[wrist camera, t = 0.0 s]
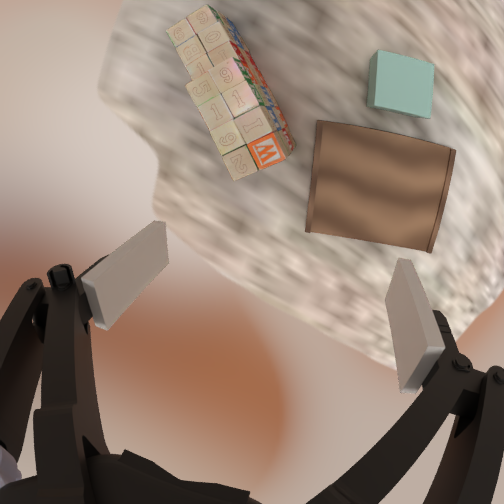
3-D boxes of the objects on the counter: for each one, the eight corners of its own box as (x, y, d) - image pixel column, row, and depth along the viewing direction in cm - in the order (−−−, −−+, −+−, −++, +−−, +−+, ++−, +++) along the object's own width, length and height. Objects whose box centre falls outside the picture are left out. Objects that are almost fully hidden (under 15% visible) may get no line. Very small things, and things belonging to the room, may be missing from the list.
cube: (369, 59, 31) (378, 49, 25) (417, 70, 30) (434, 64, 24) (366, 106, 34) (374, 105, 28) (414, 117, 33) (430, 118, 27)
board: (317, 120, 37) (317, 120, 35) (451, 148, 33) (456, 150, 31) (305, 227, 44) (304, 232, 43) (427, 247, 41) (431, 253, 39)
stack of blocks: (195, 41, 35) (152, 25, 24) (232, 21, 32) (198, -5, 22) (258, 163, 42) (232, 183, 31) (297, 146, 39) (286, 160, 29)
